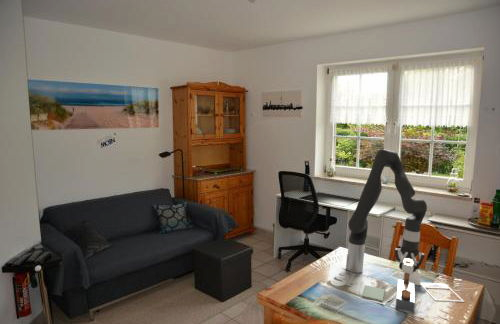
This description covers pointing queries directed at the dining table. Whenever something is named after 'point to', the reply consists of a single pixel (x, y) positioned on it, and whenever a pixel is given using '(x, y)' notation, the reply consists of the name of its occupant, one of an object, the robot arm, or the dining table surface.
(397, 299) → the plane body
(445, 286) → the photo frame
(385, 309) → the dining table surface
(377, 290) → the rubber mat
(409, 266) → the lever cap
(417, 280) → the medicine bottle
